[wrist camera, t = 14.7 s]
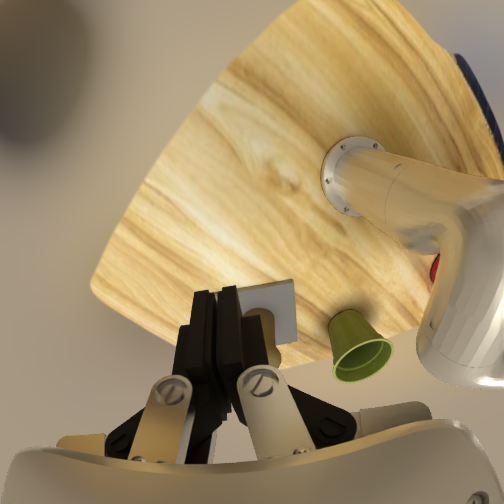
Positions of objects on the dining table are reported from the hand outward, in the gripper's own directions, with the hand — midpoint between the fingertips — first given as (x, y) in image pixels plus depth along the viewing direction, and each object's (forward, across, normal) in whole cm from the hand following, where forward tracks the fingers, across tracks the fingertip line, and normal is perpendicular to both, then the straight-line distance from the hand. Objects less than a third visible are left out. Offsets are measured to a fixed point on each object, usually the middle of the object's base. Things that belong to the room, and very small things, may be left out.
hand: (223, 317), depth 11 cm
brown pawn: (+28, -1, +25) cm, 38 cm away
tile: (+29, -1, +25) cm, 38 cm away
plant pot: (+29, -18, +31) cm, 46 cm away
